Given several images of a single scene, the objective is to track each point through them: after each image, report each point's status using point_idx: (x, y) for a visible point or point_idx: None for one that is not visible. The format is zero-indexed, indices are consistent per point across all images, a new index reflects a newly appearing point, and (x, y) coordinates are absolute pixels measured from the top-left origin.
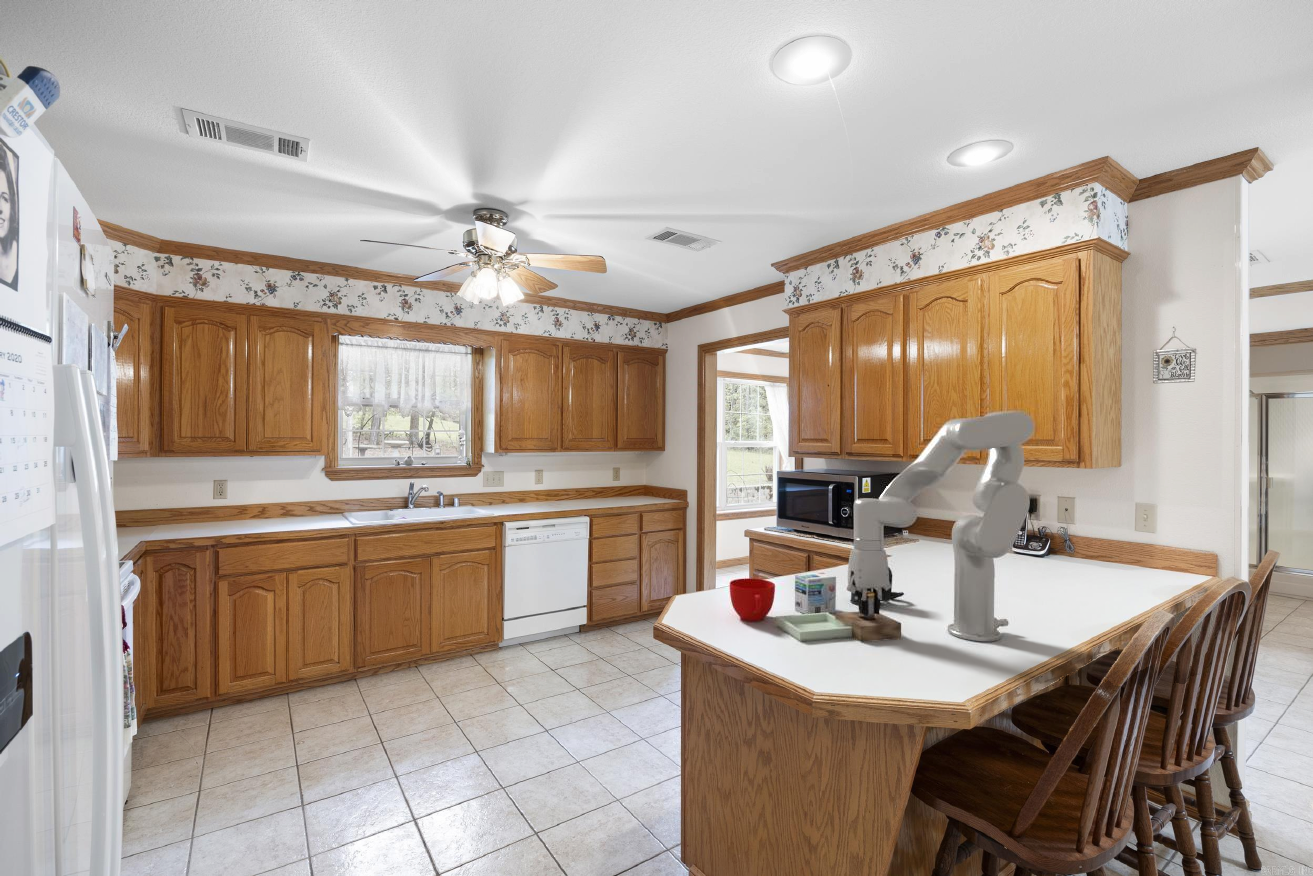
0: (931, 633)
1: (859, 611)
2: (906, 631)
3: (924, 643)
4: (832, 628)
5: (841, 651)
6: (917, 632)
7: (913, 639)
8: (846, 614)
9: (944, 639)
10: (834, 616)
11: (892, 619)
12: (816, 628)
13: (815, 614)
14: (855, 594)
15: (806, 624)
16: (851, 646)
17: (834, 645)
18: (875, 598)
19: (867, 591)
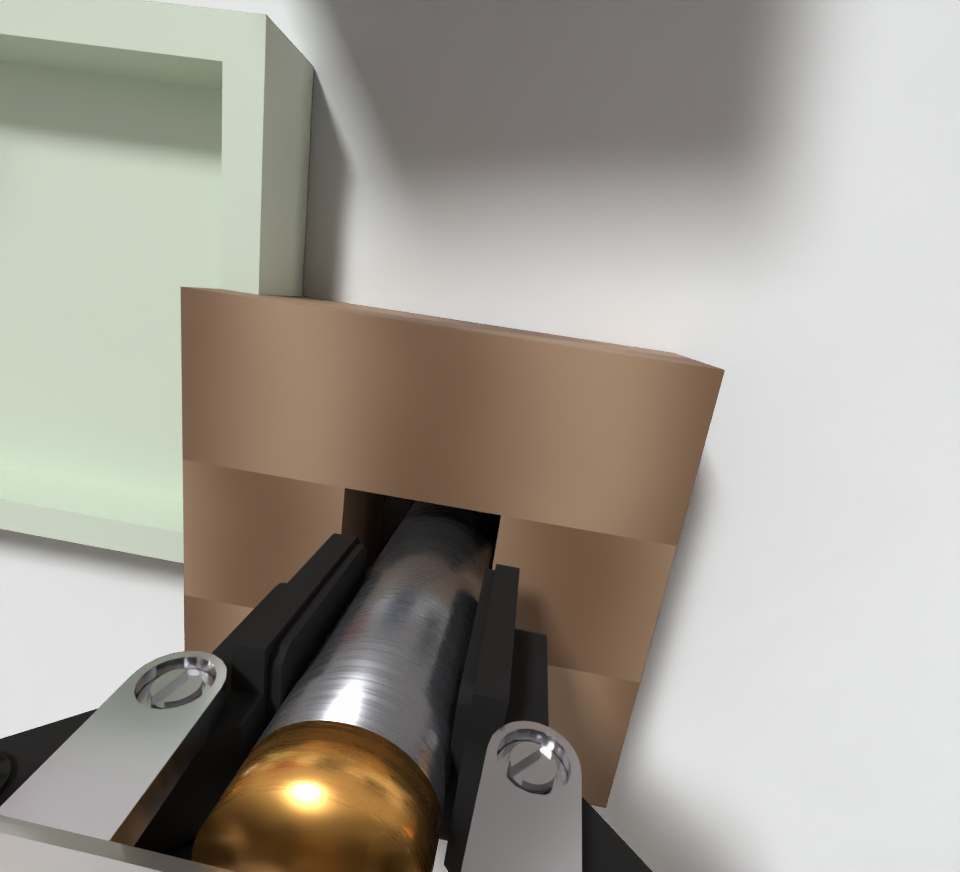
0: (924, 719)
1: (330, 542)
2: (783, 607)
3: (656, 818)
4: (46, 518)
5: (52, 691)
6: (843, 659)
7: (659, 743)
8: (280, 377)
9: (870, 832)
10: (259, 208)
11: (623, 708)
12: (59, 291)
13: (90, 44)
14: (32, 756)
15: (18, 148)
16: (156, 658)
17: (60, 601)
18: (449, 827)
19: (319, 837)
